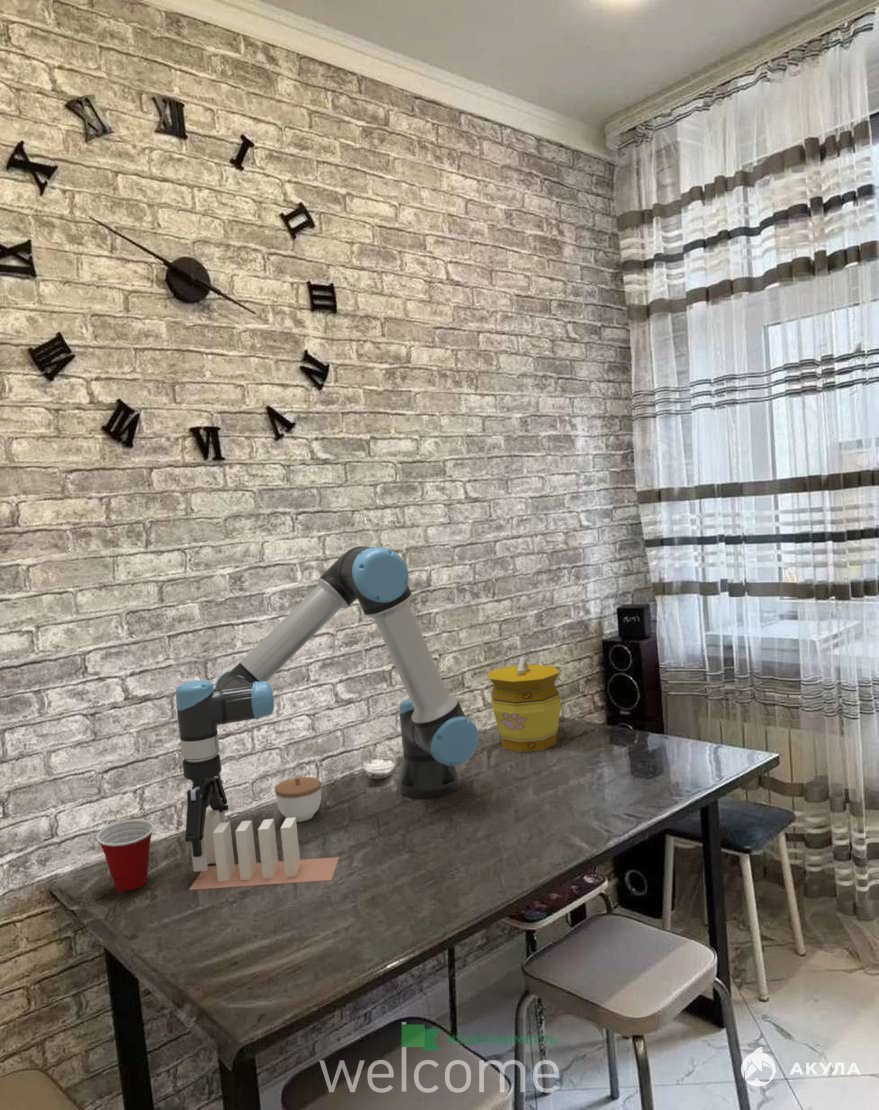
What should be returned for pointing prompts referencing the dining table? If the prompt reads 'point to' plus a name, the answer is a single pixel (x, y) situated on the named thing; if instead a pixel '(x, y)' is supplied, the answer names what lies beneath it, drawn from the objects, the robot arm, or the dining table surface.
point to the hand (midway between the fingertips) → (211, 855)
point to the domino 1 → (210, 834)
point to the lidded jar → (299, 797)
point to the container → (526, 706)
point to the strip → (306, 873)
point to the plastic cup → (127, 852)
